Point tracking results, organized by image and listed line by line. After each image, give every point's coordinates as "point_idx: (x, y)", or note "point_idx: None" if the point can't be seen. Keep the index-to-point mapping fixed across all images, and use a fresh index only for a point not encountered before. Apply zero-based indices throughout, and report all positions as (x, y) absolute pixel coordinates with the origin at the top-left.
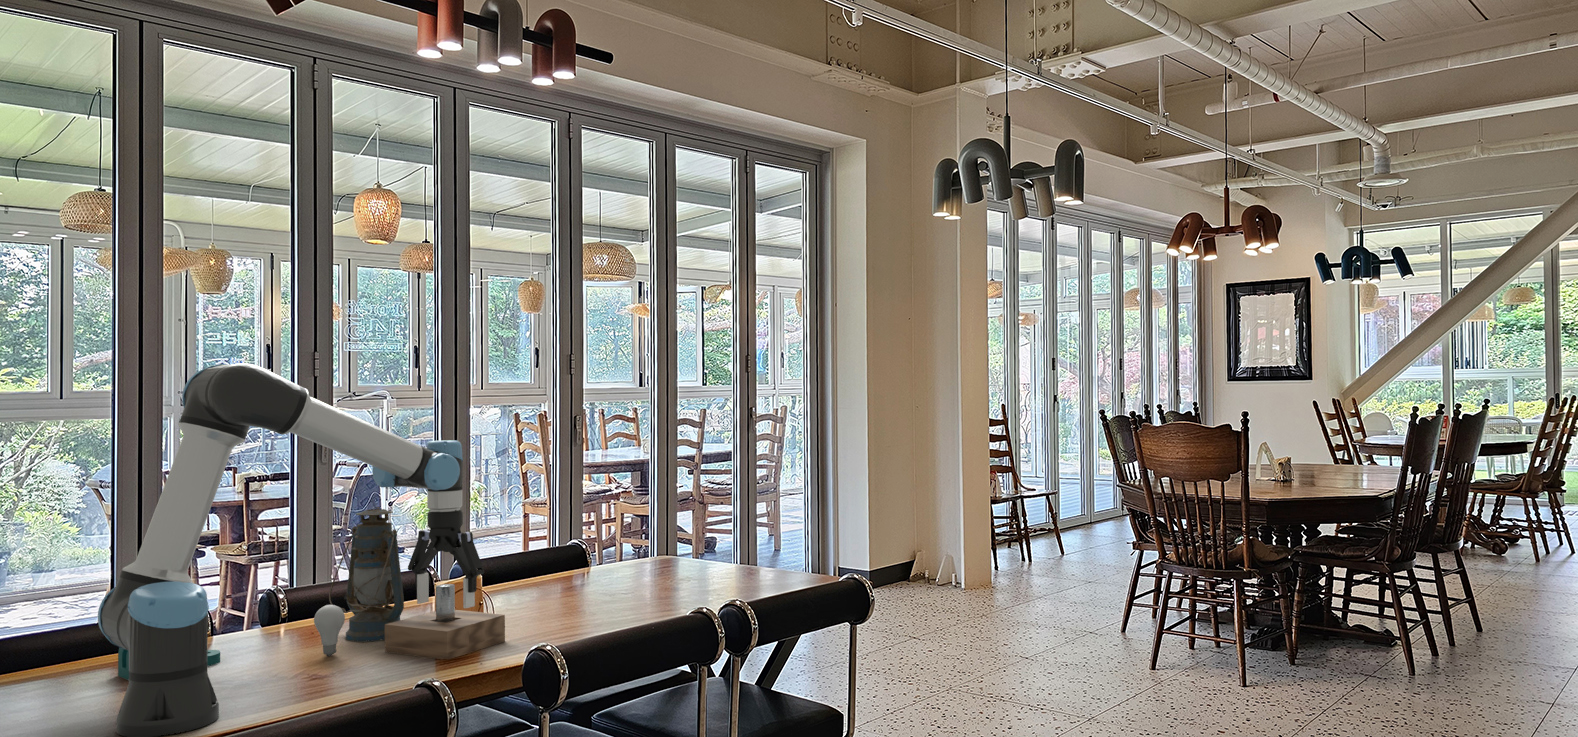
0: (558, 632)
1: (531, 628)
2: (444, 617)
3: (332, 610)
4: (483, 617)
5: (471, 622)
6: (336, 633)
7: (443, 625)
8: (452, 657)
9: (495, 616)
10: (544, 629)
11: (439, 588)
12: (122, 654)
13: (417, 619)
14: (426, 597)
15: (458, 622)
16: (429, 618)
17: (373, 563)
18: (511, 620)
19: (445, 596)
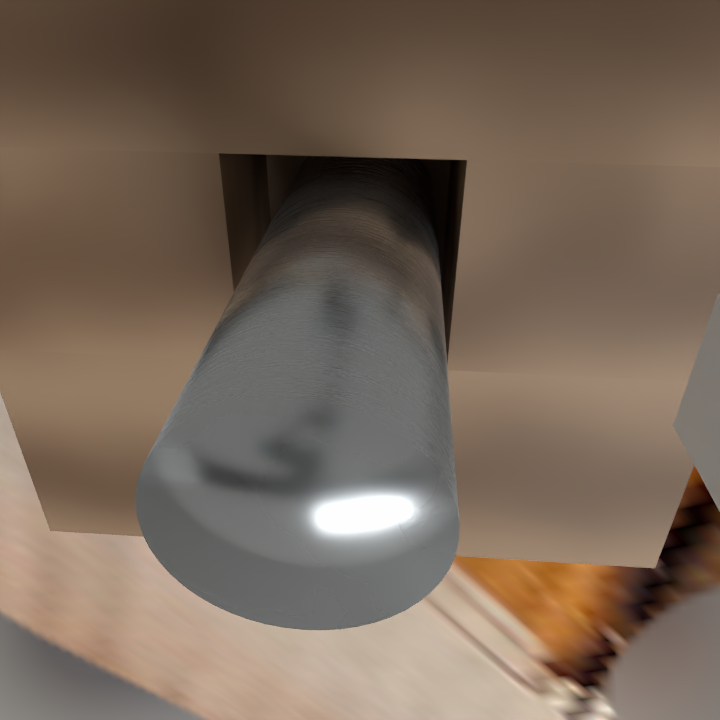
0: (58, 600)
1: (237, 625)
2: (282, 215)
3: None
4: (102, 427)
5: (3, 248)
6: None
7: (121, 19)
8: None
9: (54, 476)
10: (165, 624)
11: (268, 382)
12: None
13: (648, 169)
14: (705, 434)
15: (111, 205)
16: (542, 254)
17: None
18: (446, 701)
19: (214, 341)
